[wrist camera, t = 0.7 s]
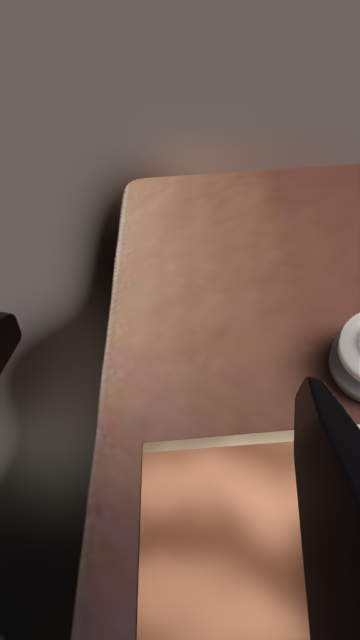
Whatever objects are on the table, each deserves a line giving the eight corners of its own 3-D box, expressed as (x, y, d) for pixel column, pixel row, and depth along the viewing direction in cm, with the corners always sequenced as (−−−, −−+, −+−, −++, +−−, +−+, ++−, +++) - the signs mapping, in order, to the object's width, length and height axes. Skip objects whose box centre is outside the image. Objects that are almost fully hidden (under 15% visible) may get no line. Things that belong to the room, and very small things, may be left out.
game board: (842, 836, 11) (947, 904, 9) (135, 704, 19) (118, 726, 17) (490, 309, 22) (506, 294, 21) (146, 366, 30) (136, 359, 29)
